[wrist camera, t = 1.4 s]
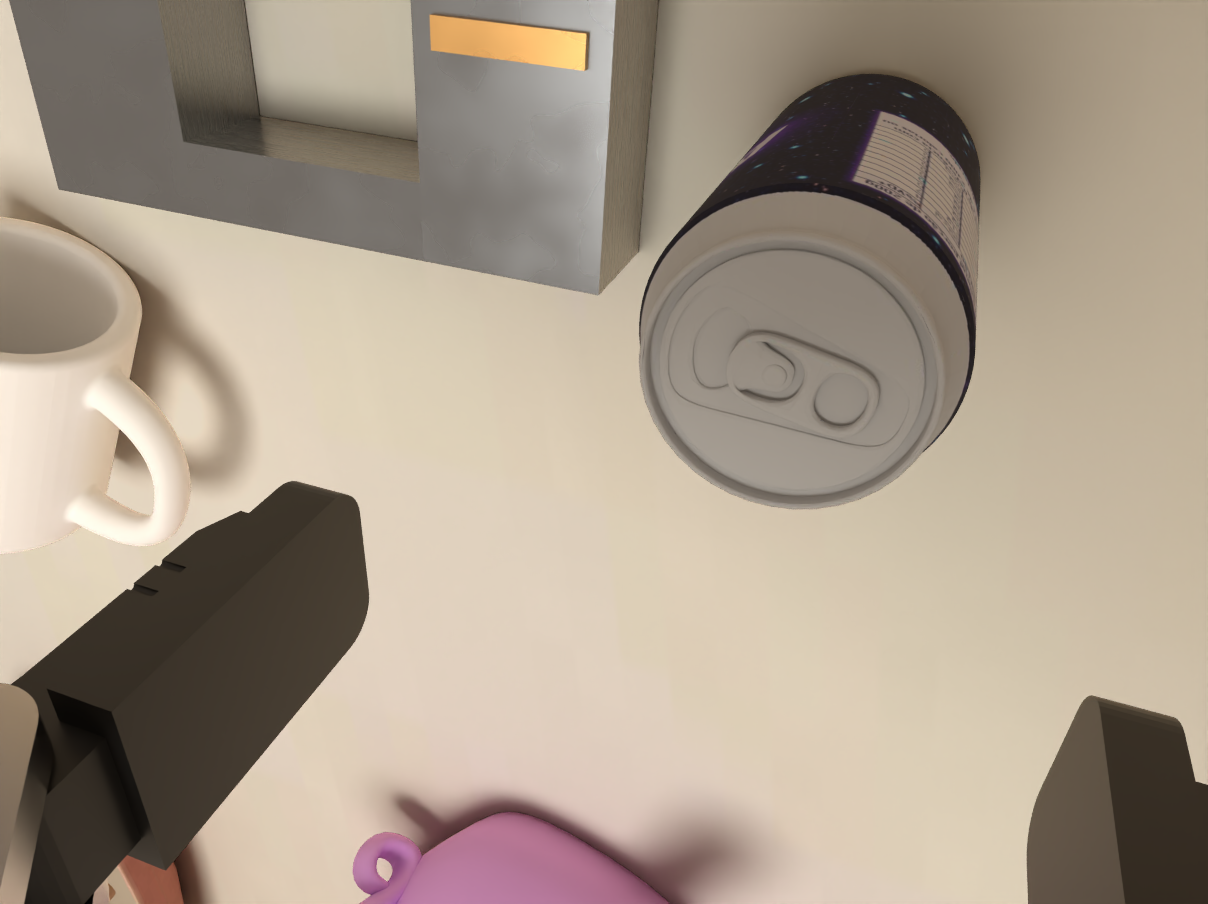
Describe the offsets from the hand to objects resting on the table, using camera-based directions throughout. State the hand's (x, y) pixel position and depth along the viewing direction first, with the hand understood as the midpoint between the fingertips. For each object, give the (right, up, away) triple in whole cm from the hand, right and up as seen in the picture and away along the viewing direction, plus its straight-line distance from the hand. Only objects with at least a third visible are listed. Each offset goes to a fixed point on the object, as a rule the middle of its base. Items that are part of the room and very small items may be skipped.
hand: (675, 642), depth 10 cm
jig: (-8, +15, +16) cm, 24 cm away
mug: (-20, +5, +28) cm, 35 cm away
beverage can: (+6, +9, +14) cm, 18 cm away
